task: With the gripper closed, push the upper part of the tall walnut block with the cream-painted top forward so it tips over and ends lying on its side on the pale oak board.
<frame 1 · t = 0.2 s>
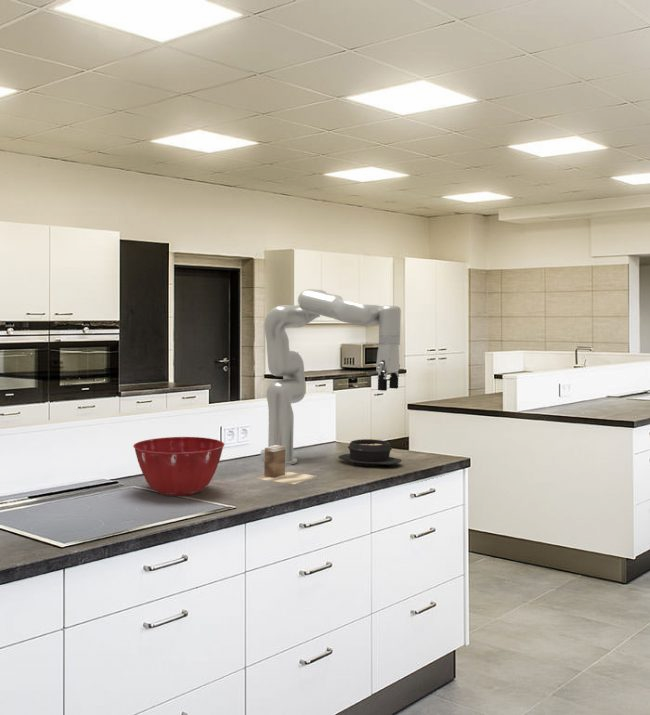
hand: (388, 389, 290), 31 cm above the worktop, fingers open, 9 cm apart
oak board: (286, 478, 285), on the worktop
mixing bowl: (178, 492, 262), on the worktop
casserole: (369, 464, 316), on the worktop
walnut block: (274, 475, 287), point 1 cm above the worktop, touching oak board
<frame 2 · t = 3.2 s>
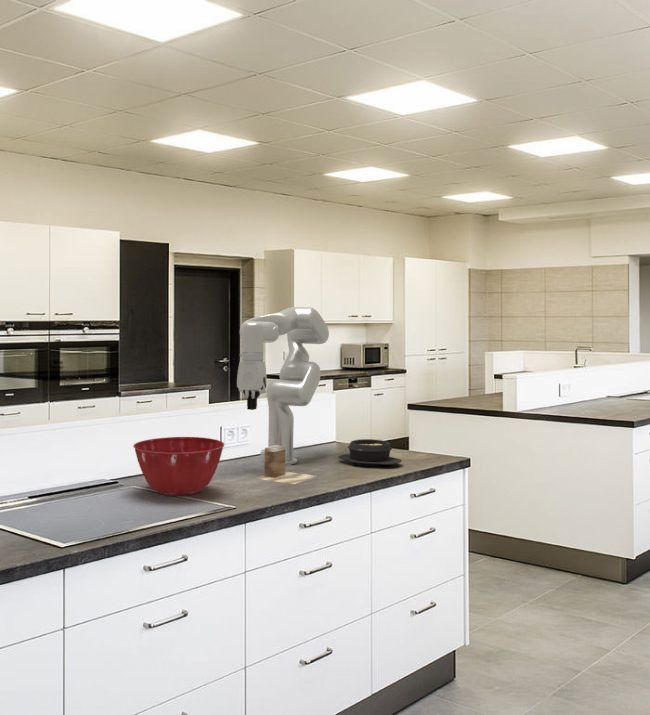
hand: (251, 409, 291), 23 cm above the worktop, fingers closed
nothing on the worktop moved.
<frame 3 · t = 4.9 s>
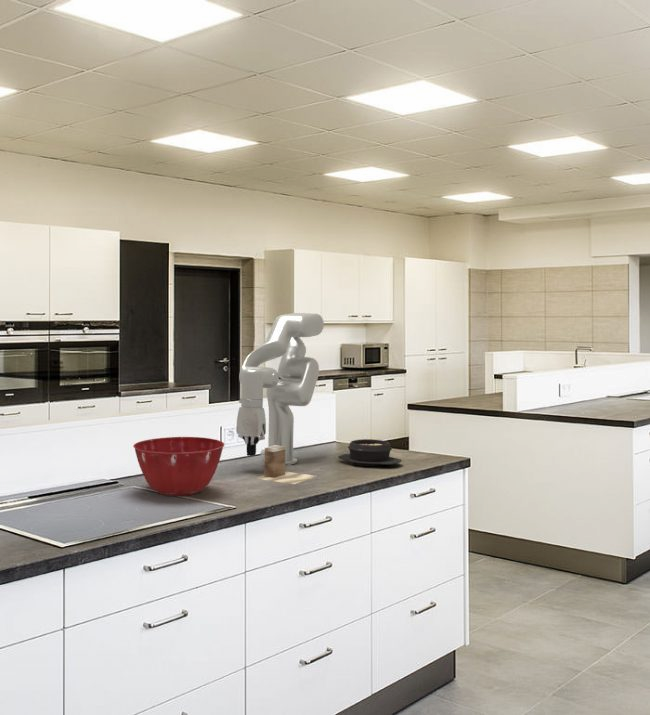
hand: (251, 455, 291), 7 cm above the worktop, fingers closed
nothing on the worktop moved.
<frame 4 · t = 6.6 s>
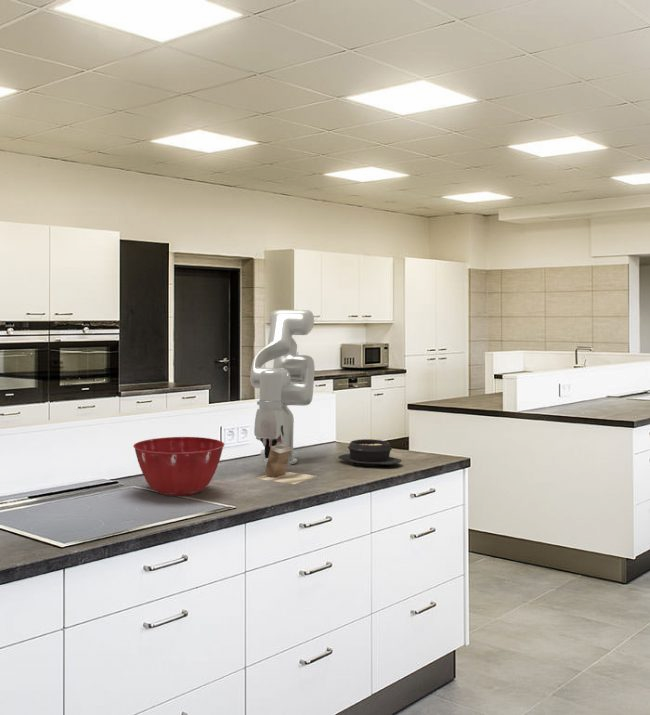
hand: (269, 457, 288), 7 cm above the worktop, fingers closed
walnut block: (274, 474, 287), point 1 cm above the worktop, tilted 14°, touching oak board
everything else where it was.
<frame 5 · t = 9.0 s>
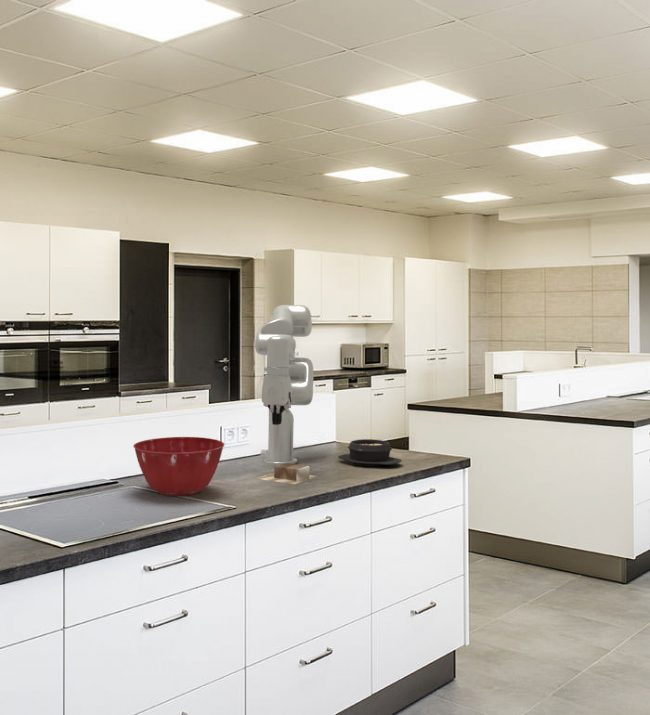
hand: (276, 424, 286), 19 cm above the worktop, fingers closed
walnut block: (279, 470, 286), point 3 cm above the worktop, tilted 90°, touching oak board
everything else where it was.
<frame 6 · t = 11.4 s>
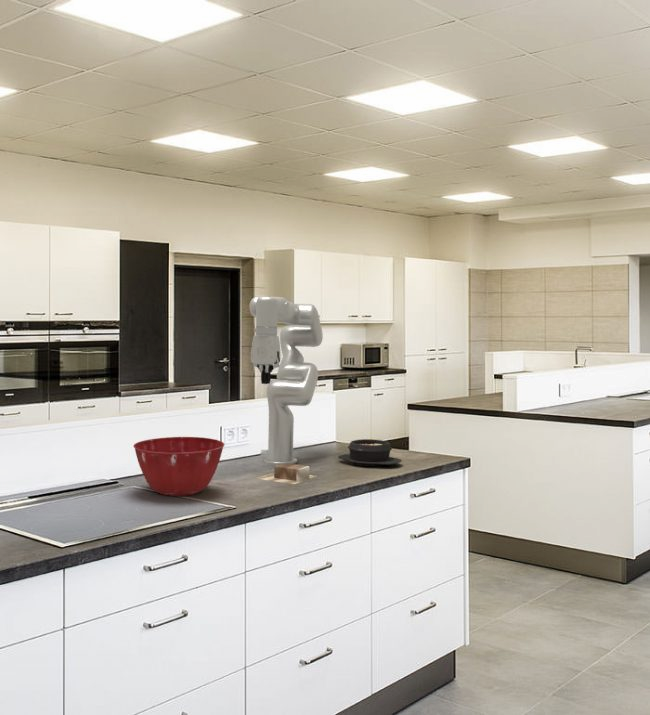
hand: (265, 383, 292), 32 cm above the worktop, fingers closed
nothing on the worktop moved.
at the end: walnut block tilted 90°; walnut block inside the target area on the oak board (3.0 cm from its centre), point 2.6 cm above the oak board's base; the gripper is holding nothing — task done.
